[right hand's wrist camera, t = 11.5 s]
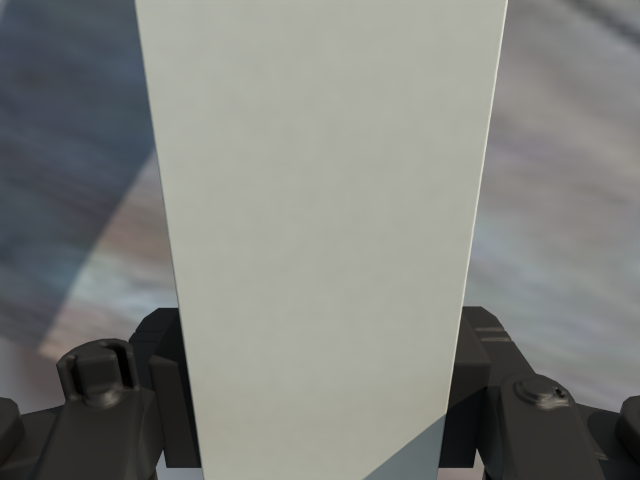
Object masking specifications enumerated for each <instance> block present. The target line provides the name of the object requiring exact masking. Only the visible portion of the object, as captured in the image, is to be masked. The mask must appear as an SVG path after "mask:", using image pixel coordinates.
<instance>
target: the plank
mask: <svg viewBox="0 0 640 480" xmlns="http://www.w3.org/2000/svg"><path fill="white" fill-rule="evenodd" d="M507 3H508V0H134V5H135V12H136V19H137V26H138V33H139V40H140V46H141V53H142V60H143V67H144V74H145V81H146V88H147V95H148V102H149V108H150V115H151V122H152V129H153V136H154V143H155V150H156V157H157V163H158V170H159V177H160V184H161V191H162V198H163V205H164V212H165V218H166V225H167V232H168V239H169V246H170V253H171V260H172V267H173V273H174V280H175V287H176V294H177V301H178V308H179V315H180V322H181V328H182V335H183V342H184V349H185V356H186V363H187V370H188V377H189V384H190V390H191V397H192V404H193V411H194V418H195V425H196V432H197V439H198V445H199V452H200V459H201V466H202V473H203V480H437V473H438V466H439V460H440V453H441V446H442V440H443V433H444V426H445V419H446V413H447V406H448V399H449V393H450V386H451V379H452V372H453V366H454V359H455V352H456V346H457V339H458V332H459V325H460V319H461V312H462V305H463V298H464V292H465V285H466V278H467V272H468V265H469V258H470V251H471V245H472V238H473V231H474V225H475V218H476V211H477V204H478V198H479V191H480V184H481V178H482V171H483V164H484V157H485V151H486V144H487V137H488V130H489V124H490V117H491V110H492V104H493V97H494V90H495V83H496V77H497V70H498V63H499V57H500V50H501V43H502V36H503V30H504V23H505V16H506V10H507Z"/></svg>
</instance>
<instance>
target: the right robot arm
mask: <svg viewBox="0 0 640 480" xmlns="http://www.w3.org/2000/svg"><path fill="white" fill-rule="evenodd" d="M56 366H57V370H58V374H59V377H60V381H61V385H62V388H63V392H64V396H65V399H66V401H65V404H64V405H61V406H58V407H54V408H50V409H46V410H41V411H37V412H32V413H28V414H23V415H20V412H19V408H18V405H17V404H16V403H15V402H14V401H13V400H11V399H8V398H1V397H0V480H158V478H157V473H156V465H157V463H158V460H159V458H160V455H161V453H162V451H164V456H165V462H166V467H167V468H202V466H201V459H200V452H199V445H198V439H197V432H196V425H195V418H194V411H193V404H192V397H191V390H190V384H189V377H188V370H187V363H186V356H185V349H184V342H183V335H182V328H181V322H180V315H179V308H158V309H156V310H155V311H154V312H152V313H151V314H149V315H148V316H146V317H145V318H144V319H143V320H142V322H141V323H140V324H139V326H138V327H137V329H136V332H135V333H133V335H132V336H131V337H130V339H129V342H127V341H124V340H120V339H116V338H114V339H100V340H95V341H91V342H87V343H85V344H83V345H80V346H78V347H76V348H74V349H72V350H71V351H69V352H68V353H66V354H65V355H64V356H62V358H61V359H60V360H59V361H58V363H57V364H56ZM476 449H478V452H479V454H480V457H481V459H482V462H483V464H484V466H485V467H484V473H483V478H482V480H640V396H633V397H629V398H628V399H627V400H625V401H624V402H623V404H622V407H621V410H620V413H616V412H612V411H607V410H602V409H598V408H593V407H589V406H585V405H581V404H578V403H575V401H574V399H573V397H572V396H571V394H570V393H569V391H568V390H567V389H565V388H564V387H563V386H562V385H560V384H559V383H558V382H556V381H554V380H552V379H550V378H548V377H546V376H543V375H539V374H536V373H535V372H534V370H533V369H532V368H531V366H530V365H529V363H528V362H527V360H526V359H525V358H524V356H523V355H522V353H521V352H520V350H519V349H518V348H517V346H516V345H515V343H514V342H513V341H511V338H510V336H509V335H508V333H507V332H506V331H504V328H503V326H502V325H501V323H500V322H499V320H498V319H497V318H496V316H494V315H493V314H491V313H490V312H488V311H487V310H485V309H484V308H482V307H462V312H461V319H460V325H459V332H458V339H457V346H456V352H455V359H454V366H453V372H452V379H451V386H450V393H449V399H448V406H447V413H446V419H445V426H444V433H443V440H442V446H441V453H440V460H439V466H438V468H473V466H474V460H475V454H476Z"/></svg>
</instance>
